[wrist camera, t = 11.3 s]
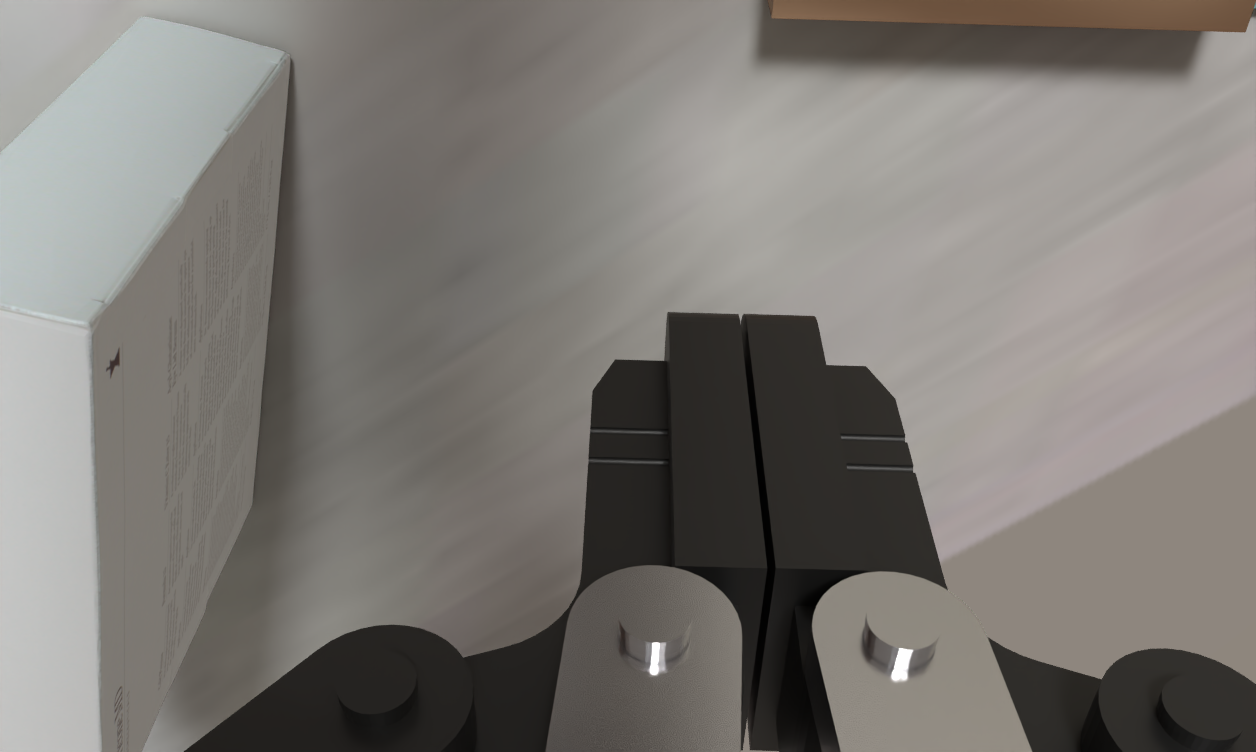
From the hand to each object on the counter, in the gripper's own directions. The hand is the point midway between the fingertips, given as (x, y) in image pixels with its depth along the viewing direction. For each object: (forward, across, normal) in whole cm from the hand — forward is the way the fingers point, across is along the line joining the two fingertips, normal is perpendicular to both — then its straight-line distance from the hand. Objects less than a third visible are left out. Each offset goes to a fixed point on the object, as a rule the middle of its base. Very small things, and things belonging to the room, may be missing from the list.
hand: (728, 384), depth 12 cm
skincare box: (+27, +17, +17) cm, 36 cm away
